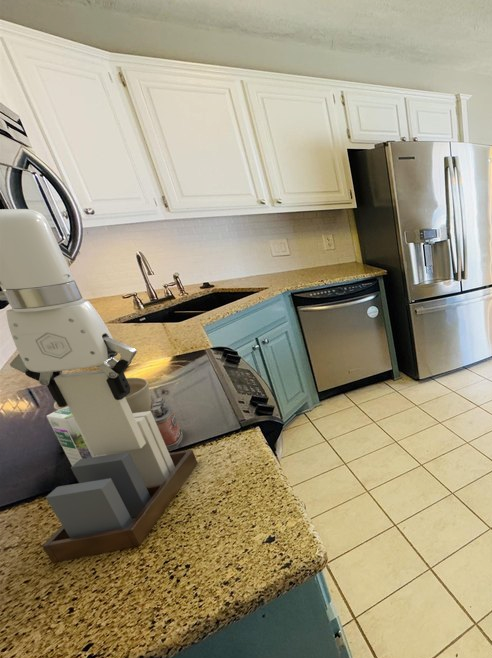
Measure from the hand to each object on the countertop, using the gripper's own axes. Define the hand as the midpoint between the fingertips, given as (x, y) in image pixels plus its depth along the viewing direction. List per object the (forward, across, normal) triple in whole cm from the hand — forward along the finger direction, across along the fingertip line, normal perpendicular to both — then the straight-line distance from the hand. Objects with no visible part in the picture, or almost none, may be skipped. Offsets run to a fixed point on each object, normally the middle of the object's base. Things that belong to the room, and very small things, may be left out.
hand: (96, 399), depth 69 cm
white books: (+21, 0, +4) cm, 21 cm away
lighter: (+21, -4, +21) cm, 30 cm away
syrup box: (+21, -13, +12) cm, 28 cm away
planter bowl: (+21, -18, +29) cm, 40 cm away
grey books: (+21, 0, -8) cm, 22 cm away
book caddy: (+21, 0, -2) cm, 21 cm away
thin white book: (+10, 0, 0) cm, 10 cm away
